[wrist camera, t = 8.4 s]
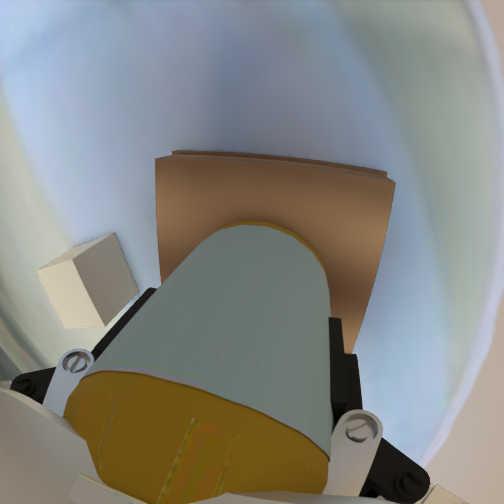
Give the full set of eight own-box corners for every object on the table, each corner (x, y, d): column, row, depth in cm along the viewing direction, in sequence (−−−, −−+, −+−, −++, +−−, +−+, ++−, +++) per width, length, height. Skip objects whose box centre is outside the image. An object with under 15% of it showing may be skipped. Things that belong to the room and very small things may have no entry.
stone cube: (76, 245, 21) (36, 270, 17) (115, 232, 20) (72, 259, 15) (99, 297, 23) (65, 328, 18) (140, 290, 22) (105, 326, 17)
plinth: (176, 150, 17) (152, 154, 14) (384, 171, 15) (400, 179, 12) (181, 318, 22) (166, 342, 19) (344, 344, 20) (346, 373, 17)
